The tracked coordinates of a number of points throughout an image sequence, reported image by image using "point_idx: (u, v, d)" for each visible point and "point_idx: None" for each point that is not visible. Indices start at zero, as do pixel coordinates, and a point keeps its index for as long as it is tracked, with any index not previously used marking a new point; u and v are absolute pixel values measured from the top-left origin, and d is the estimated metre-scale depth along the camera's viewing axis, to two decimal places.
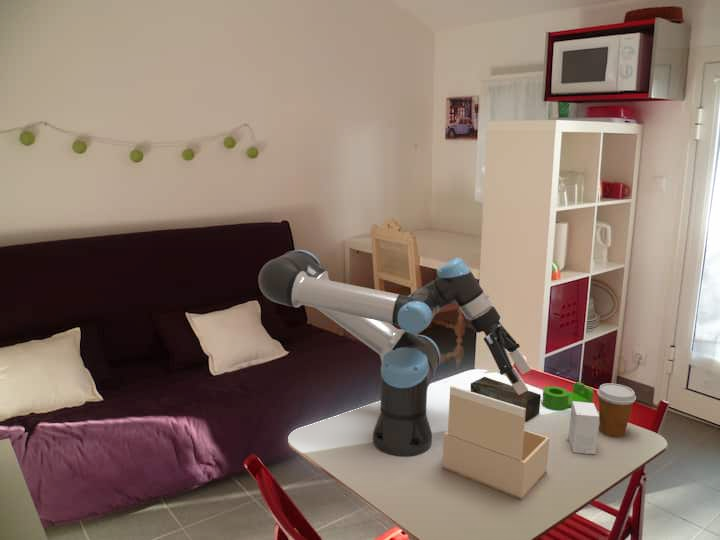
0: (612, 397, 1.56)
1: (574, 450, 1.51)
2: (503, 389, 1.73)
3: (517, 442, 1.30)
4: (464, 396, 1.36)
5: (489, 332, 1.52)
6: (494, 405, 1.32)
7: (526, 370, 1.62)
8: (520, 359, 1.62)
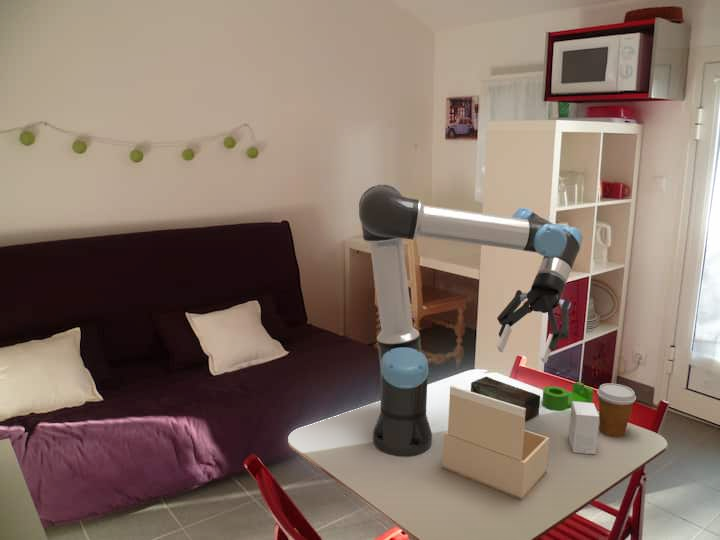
0: (612, 397, 1.56)
1: (574, 450, 1.51)
2: (503, 389, 1.73)
3: (517, 442, 1.30)
4: (464, 396, 1.36)
5: (559, 298, 1.50)
6: (494, 405, 1.32)
7: (501, 348, 1.49)
8: (507, 337, 1.50)
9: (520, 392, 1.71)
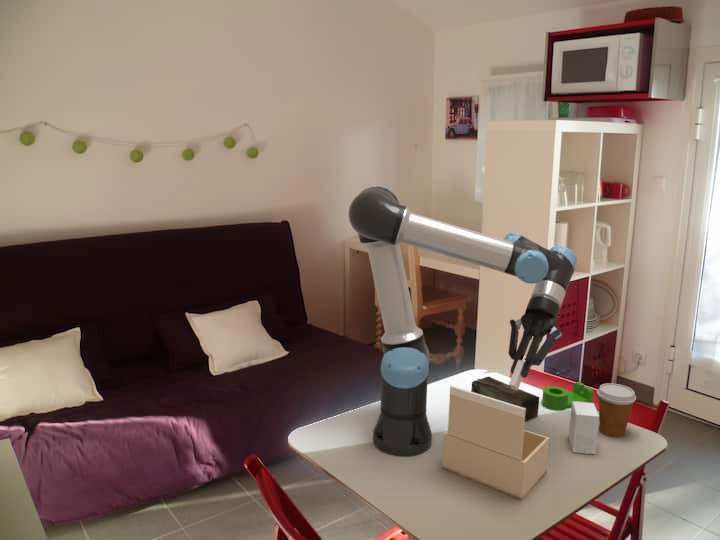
0: (612, 397, 1.56)
1: (574, 450, 1.51)
2: (502, 389, 1.73)
3: (517, 442, 1.30)
4: (464, 396, 1.36)
5: None
6: (494, 405, 1.32)
7: None
8: None
9: (519, 393, 1.71)
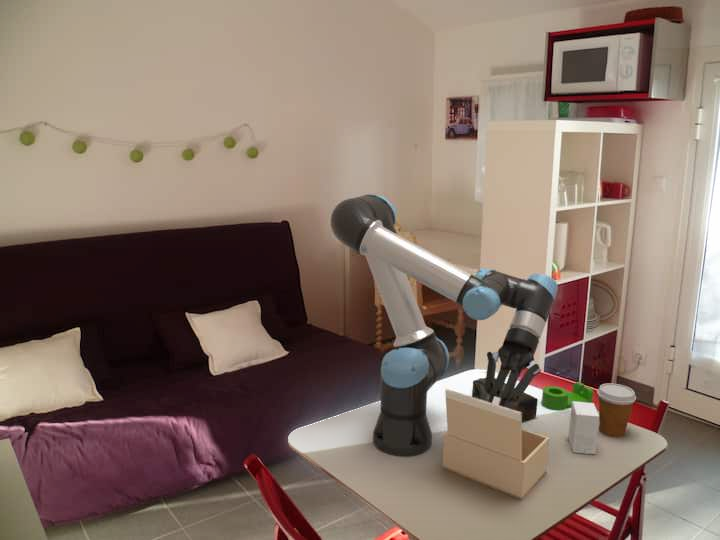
0: (612, 397, 1.56)
1: (574, 450, 1.51)
2: None
3: (516, 444, 1.29)
4: (460, 400, 1.35)
5: (533, 359, 1.39)
6: (490, 409, 1.30)
7: None
8: None
9: None
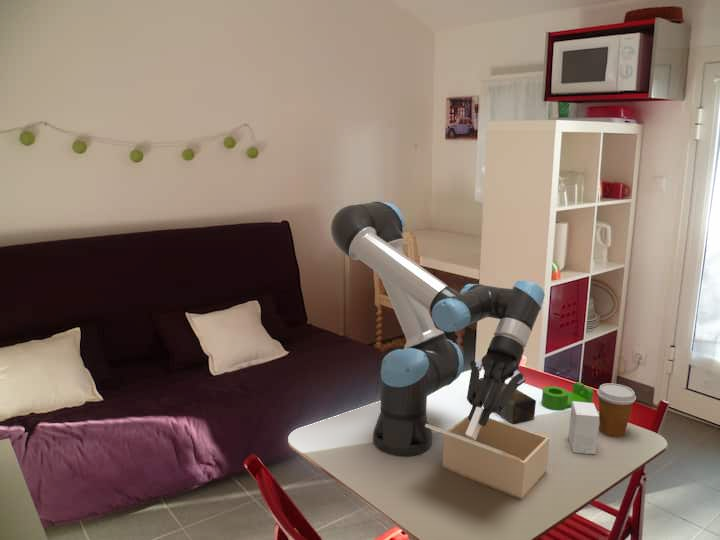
0: (612, 397, 1.56)
1: (574, 450, 1.51)
2: (501, 389, 1.73)
3: None
4: None
5: (518, 368, 1.33)
6: None
7: None
8: None
9: (516, 394, 1.70)
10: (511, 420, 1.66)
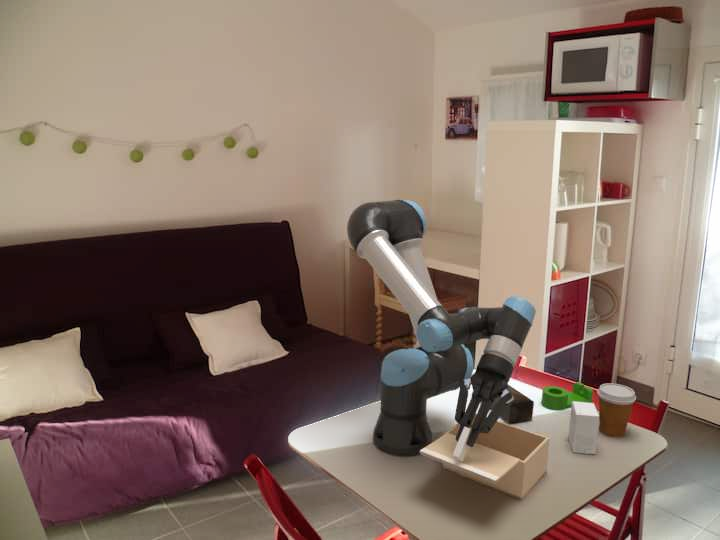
0: (613, 397, 1.56)
1: (574, 450, 1.51)
2: None
3: None
4: None
5: (507, 387, 1.30)
6: None
7: None
8: None
9: (514, 395, 1.69)
10: (508, 420, 1.66)
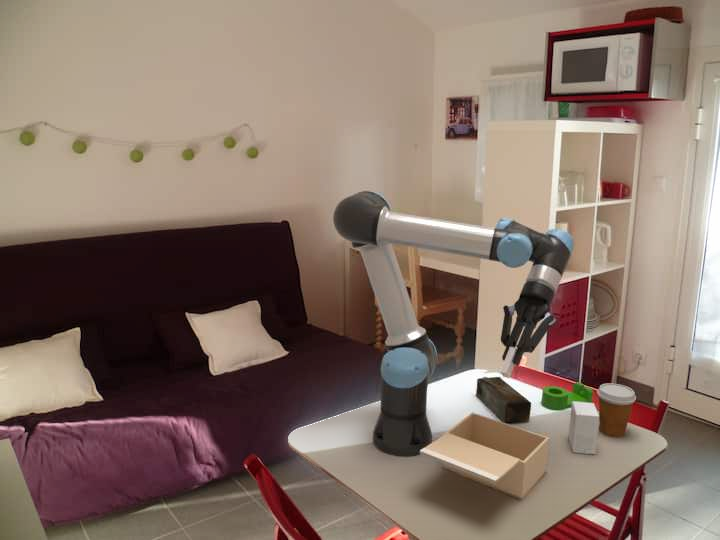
0: (612, 397, 1.56)
1: (574, 450, 1.51)
2: (499, 389, 1.73)
3: None
4: None
5: (549, 310, 1.41)
6: None
7: None
8: None
9: (512, 395, 1.69)
10: (503, 420, 1.66)
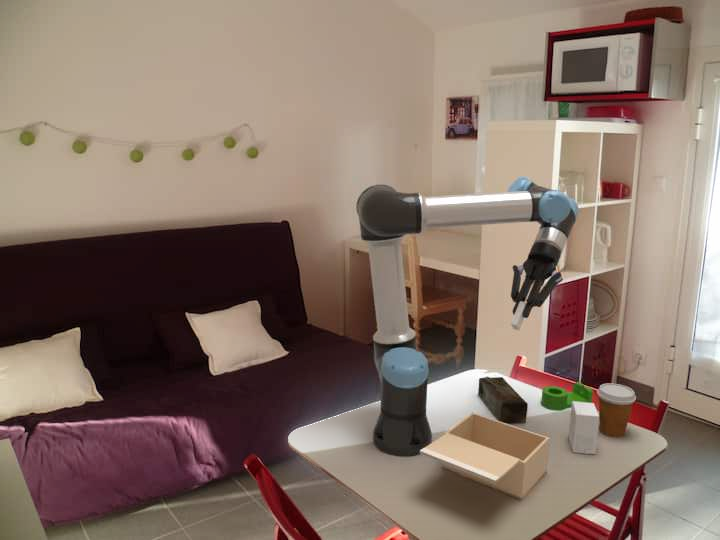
0: (612, 397, 1.56)
1: (574, 450, 1.51)
2: (498, 389, 1.73)
3: None
4: None
5: None
6: None
7: None
8: None
9: (510, 395, 1.69)
10: (499, 420, 1.66)
